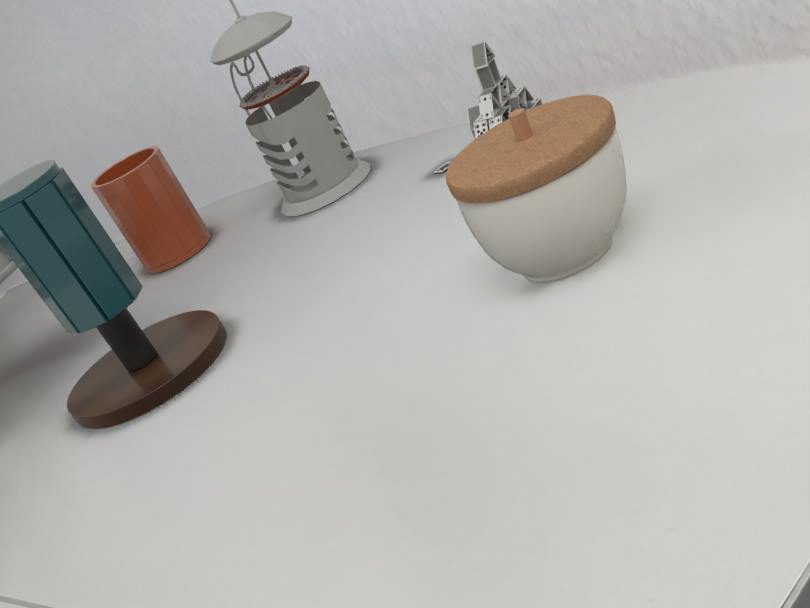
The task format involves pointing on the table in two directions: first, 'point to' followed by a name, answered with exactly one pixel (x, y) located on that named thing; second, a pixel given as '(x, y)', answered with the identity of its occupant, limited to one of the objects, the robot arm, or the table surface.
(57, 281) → the teal tall block
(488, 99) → the house of cards
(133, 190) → the terracotta cup
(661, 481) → the table surface
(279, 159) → the french press
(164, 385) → the towel holder
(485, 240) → the trinket box
